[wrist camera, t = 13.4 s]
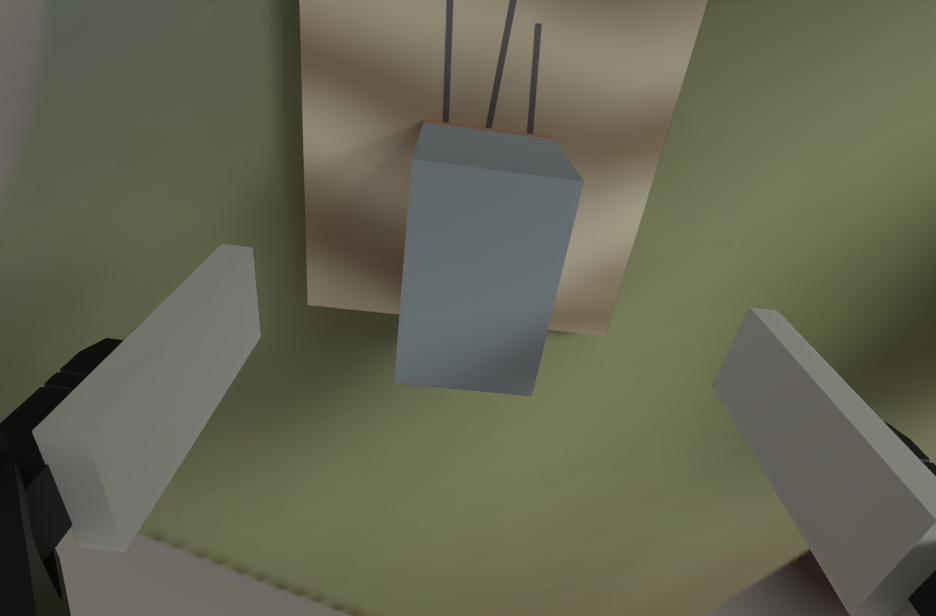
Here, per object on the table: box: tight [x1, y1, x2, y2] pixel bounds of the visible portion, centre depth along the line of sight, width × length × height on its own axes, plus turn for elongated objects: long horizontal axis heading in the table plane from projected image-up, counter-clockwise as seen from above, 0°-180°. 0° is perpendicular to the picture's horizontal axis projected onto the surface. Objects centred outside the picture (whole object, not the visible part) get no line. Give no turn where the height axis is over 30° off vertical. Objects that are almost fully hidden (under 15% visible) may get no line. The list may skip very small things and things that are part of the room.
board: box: [299, 0, 708, 336], centre depth 21 cm, size 19×14×2 cm
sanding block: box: [394, 120, 584, 396], centre depth 20 cm, size 8×5×6 cm, turn 172°
